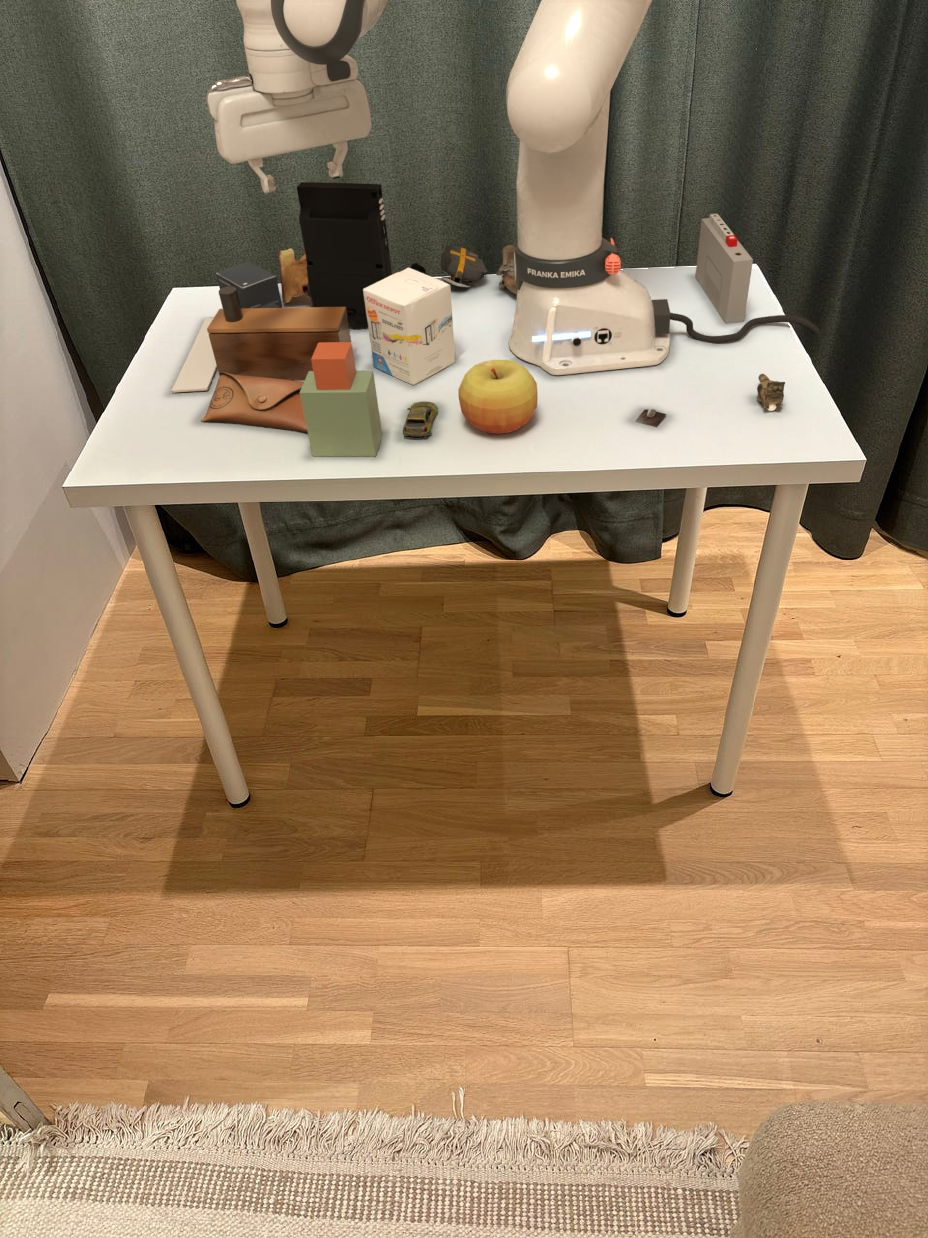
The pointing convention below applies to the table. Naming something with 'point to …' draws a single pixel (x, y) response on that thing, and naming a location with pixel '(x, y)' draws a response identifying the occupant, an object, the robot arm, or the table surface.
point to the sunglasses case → (257, 403)
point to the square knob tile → (650, 417)
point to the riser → (342, 417)
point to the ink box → (410, 325)
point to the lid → (272, 317)
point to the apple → (498, 396)
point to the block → (333, 365)
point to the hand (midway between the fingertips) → (303, 183)
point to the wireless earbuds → (418, 268)
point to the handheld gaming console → (343, 244)
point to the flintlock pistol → (508, 270)
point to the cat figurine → (770, 392)
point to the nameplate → (198, 364)
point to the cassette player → (723, 269)
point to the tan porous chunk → (293, 275)
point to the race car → (420, 420)
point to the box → (251, 285)
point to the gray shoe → (462, 266)
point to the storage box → (272, 351)
